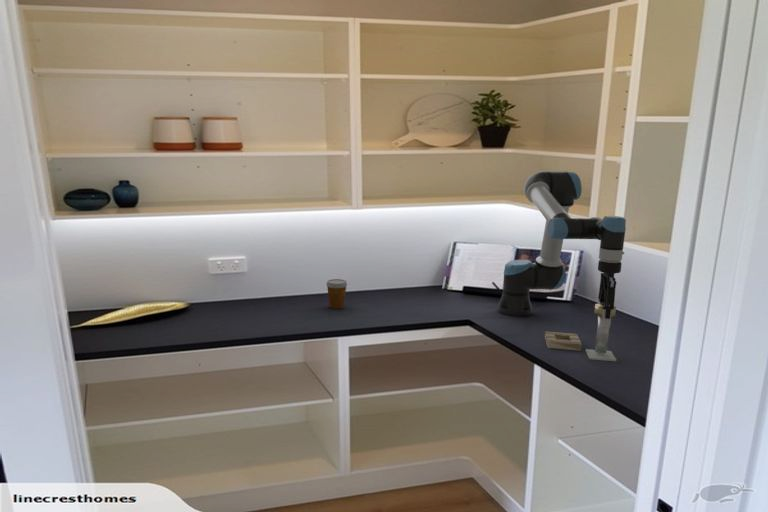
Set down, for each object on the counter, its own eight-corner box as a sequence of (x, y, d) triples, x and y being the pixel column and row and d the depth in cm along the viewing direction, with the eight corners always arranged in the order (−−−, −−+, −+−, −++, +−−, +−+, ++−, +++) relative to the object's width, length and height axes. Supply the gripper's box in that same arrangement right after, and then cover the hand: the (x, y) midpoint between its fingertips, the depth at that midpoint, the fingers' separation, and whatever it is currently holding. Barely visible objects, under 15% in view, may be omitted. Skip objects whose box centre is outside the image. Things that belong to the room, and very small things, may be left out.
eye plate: (544, 337, 221) (545, 331, 221) (576, 340, 219) (576, 333, 219) (547, 347, 210) (548, 341, 209) (581, 350, 208) (581, 344, 207)
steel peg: (588, 347, 206) (593, 302, 203) (608, 349, 205) (613, 304, 202) (592, 354, 200) (596, 308, 196) (613, 355, 198) (618, 309, 195)
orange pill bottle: (340, 303, 263) (341, 278, 261) (350, 308, 255) (351, 282, 253) (322, 305, 258) (322, 280, 256) (332, 310, 250) (332, 284, 248)
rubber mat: (585, 350, 208) (585, 349, 208) (610, 352, 206) (611, 351, 206) (589, 359, 199) (589, 357, 199) (616, 361, 197) (616, 359, 197)
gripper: (628, 267, 186) (621, 333, 190) (615, 255, 205) (608, 316, 209) (604, 265, 187) (597, 331, 191) (593, 254, 206) (587, 314, 211)
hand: (603, 323), depth 200 cm, fingers closed on steel peg, 7 cm apart
